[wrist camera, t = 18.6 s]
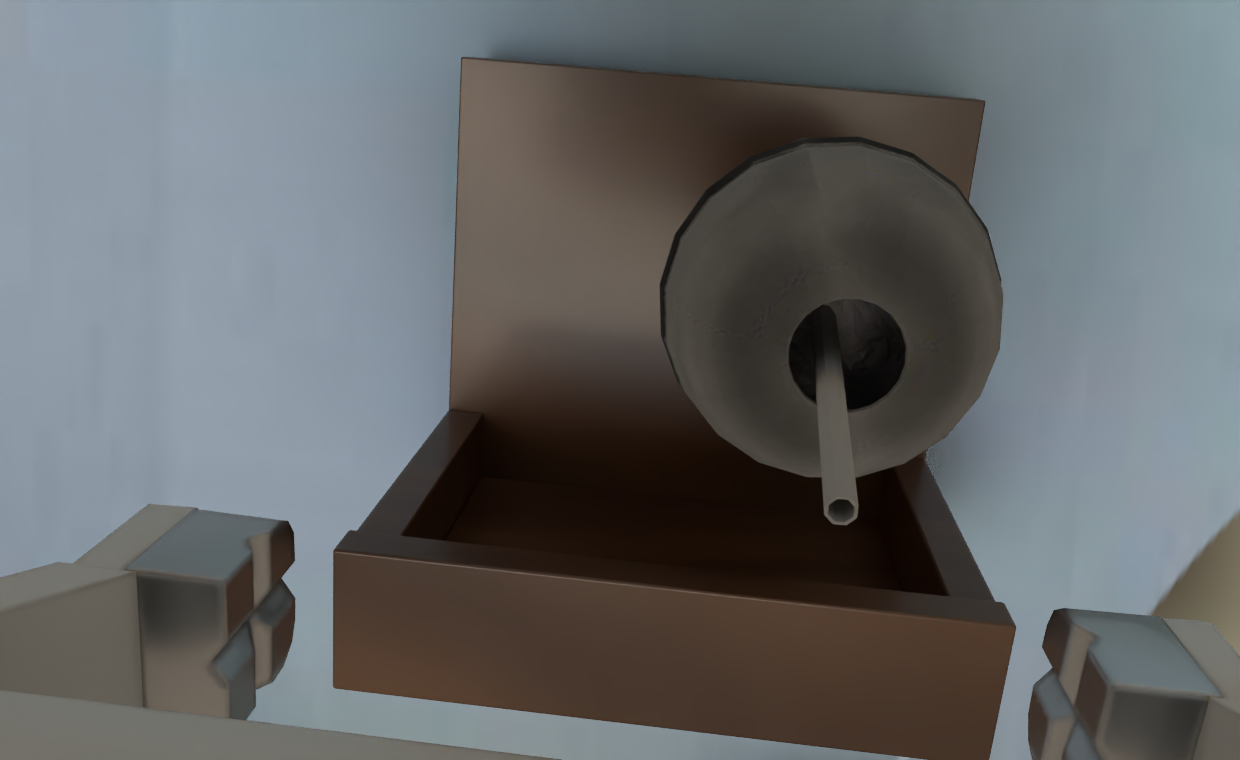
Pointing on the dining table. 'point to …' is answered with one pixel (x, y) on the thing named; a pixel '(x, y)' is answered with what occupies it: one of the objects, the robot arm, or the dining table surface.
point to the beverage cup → (832, 309)
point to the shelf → (652, 456)
